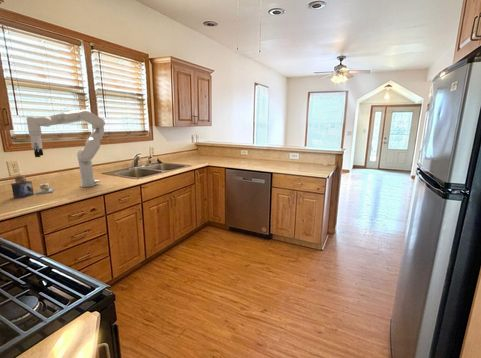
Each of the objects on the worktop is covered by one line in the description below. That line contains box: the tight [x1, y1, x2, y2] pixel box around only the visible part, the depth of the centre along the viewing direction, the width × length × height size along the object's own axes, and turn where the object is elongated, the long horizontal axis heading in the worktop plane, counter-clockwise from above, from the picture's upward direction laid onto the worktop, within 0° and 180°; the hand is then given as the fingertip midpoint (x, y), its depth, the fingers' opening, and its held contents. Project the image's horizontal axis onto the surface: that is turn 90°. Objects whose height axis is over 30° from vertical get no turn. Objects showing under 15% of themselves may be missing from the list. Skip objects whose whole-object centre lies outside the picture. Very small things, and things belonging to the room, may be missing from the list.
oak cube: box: [39, 182, 51, 191], centre depth 204 cm, size 5×5×5 cm
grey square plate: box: [36, 188, 55, 195], centre depth 205 cm, size 10×10×1 cm
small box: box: [10, 180, 35, 199], centre depth 193 cm, size 11×6×10 cm, turn 165°
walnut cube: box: [14, 174, 27, 184], centre depth 191 cm, size 5×5×5 cm
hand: (39, 156), depth 199 cm, fingers open, 9 cm apart
